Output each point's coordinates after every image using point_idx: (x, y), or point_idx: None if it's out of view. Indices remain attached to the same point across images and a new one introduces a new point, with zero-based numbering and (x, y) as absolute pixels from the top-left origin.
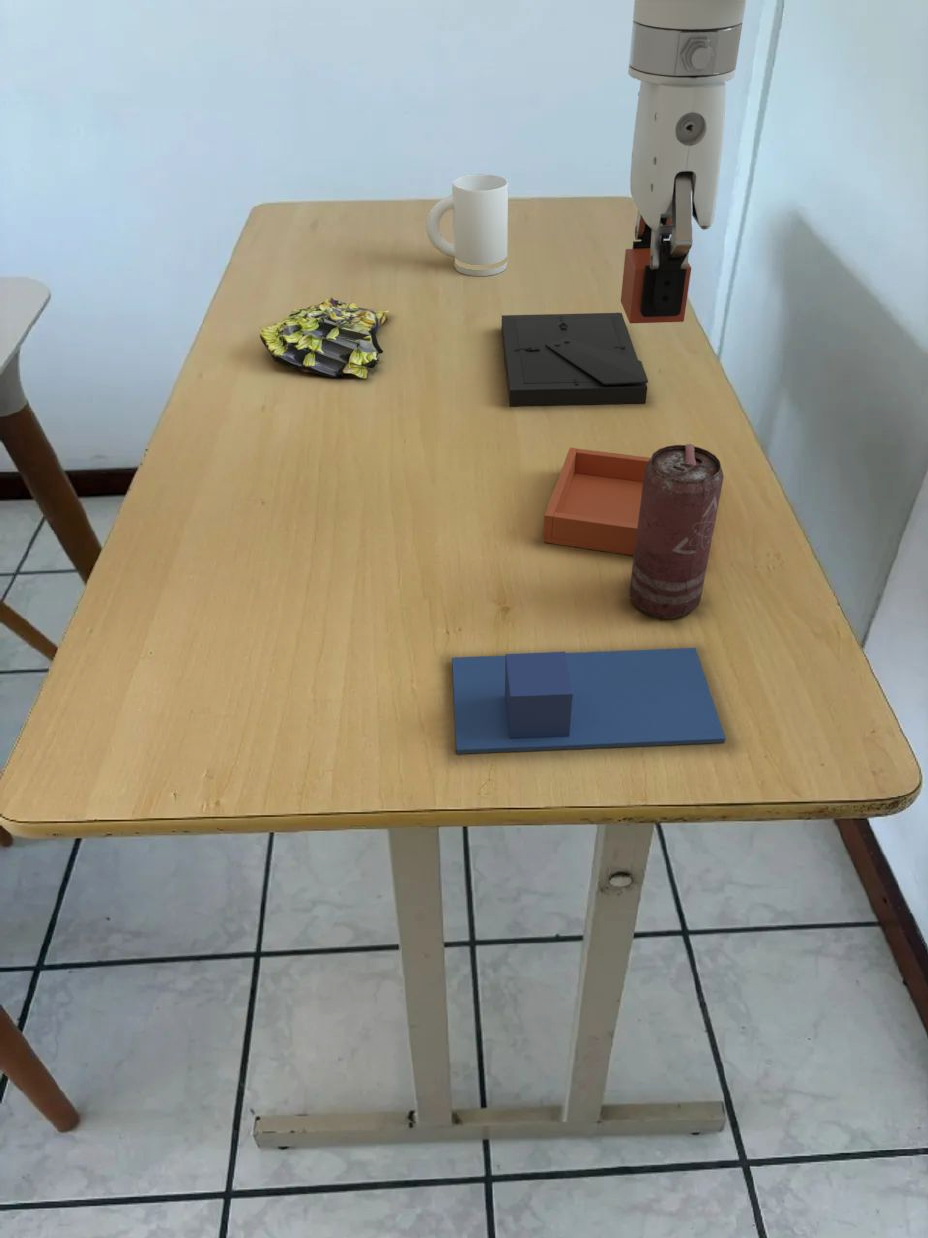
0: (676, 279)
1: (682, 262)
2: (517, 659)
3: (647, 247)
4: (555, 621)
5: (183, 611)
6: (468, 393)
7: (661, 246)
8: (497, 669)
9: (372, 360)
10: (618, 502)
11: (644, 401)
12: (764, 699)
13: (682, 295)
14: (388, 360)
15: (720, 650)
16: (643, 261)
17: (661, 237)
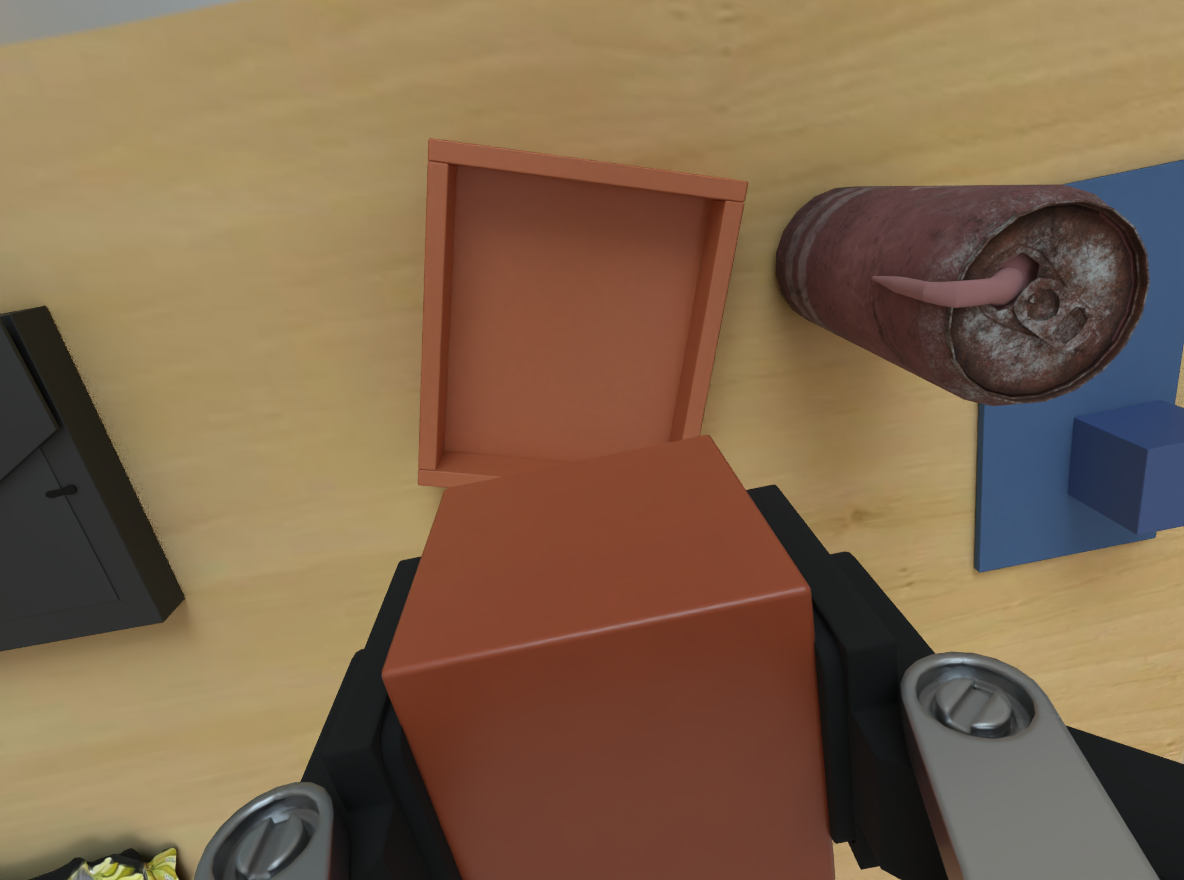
0: (929, 650)
1: (1134, 749)
2: (1152, 517)
3: (452, 859)
4: (890, 439)
5: (855, 869)
6: (157, 678)
7: (422, 790)
8: (1010, 511)
9: (115, 861)
10: (541, 357)
11: (44, 309)
12: (1115, 72)
13: (810, 530)
14: (76, 830)
15: (982, 150)
16: (700, 855)
17: (393, 855)
